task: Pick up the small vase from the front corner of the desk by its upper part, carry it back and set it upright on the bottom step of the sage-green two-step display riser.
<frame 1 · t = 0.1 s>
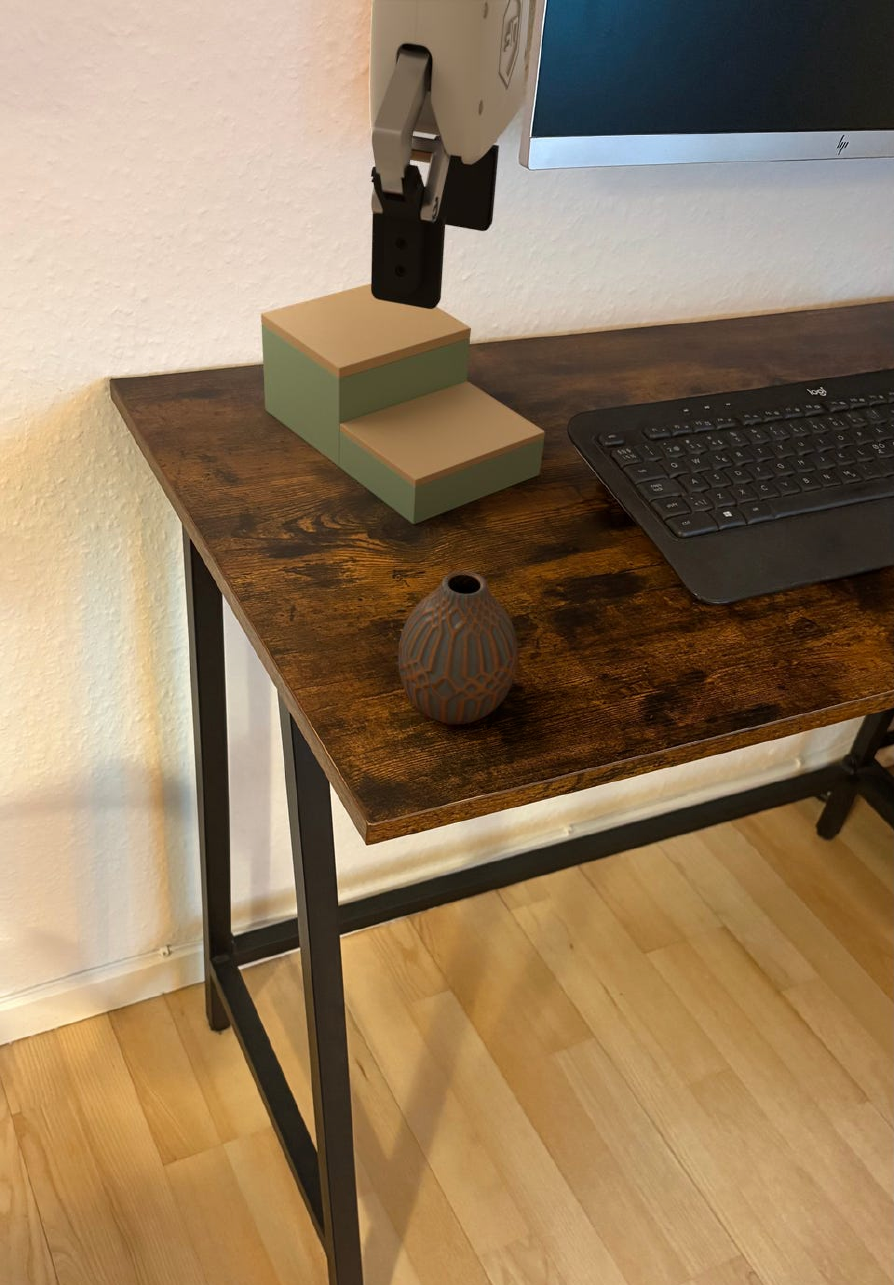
hand: (434, 261, 60), 24 cm above the table, tool pointing down, fingers open, 9 cm apart
vase: (453, 704, 74), on the table
two-step display riser: (399, 442, 94), on the table
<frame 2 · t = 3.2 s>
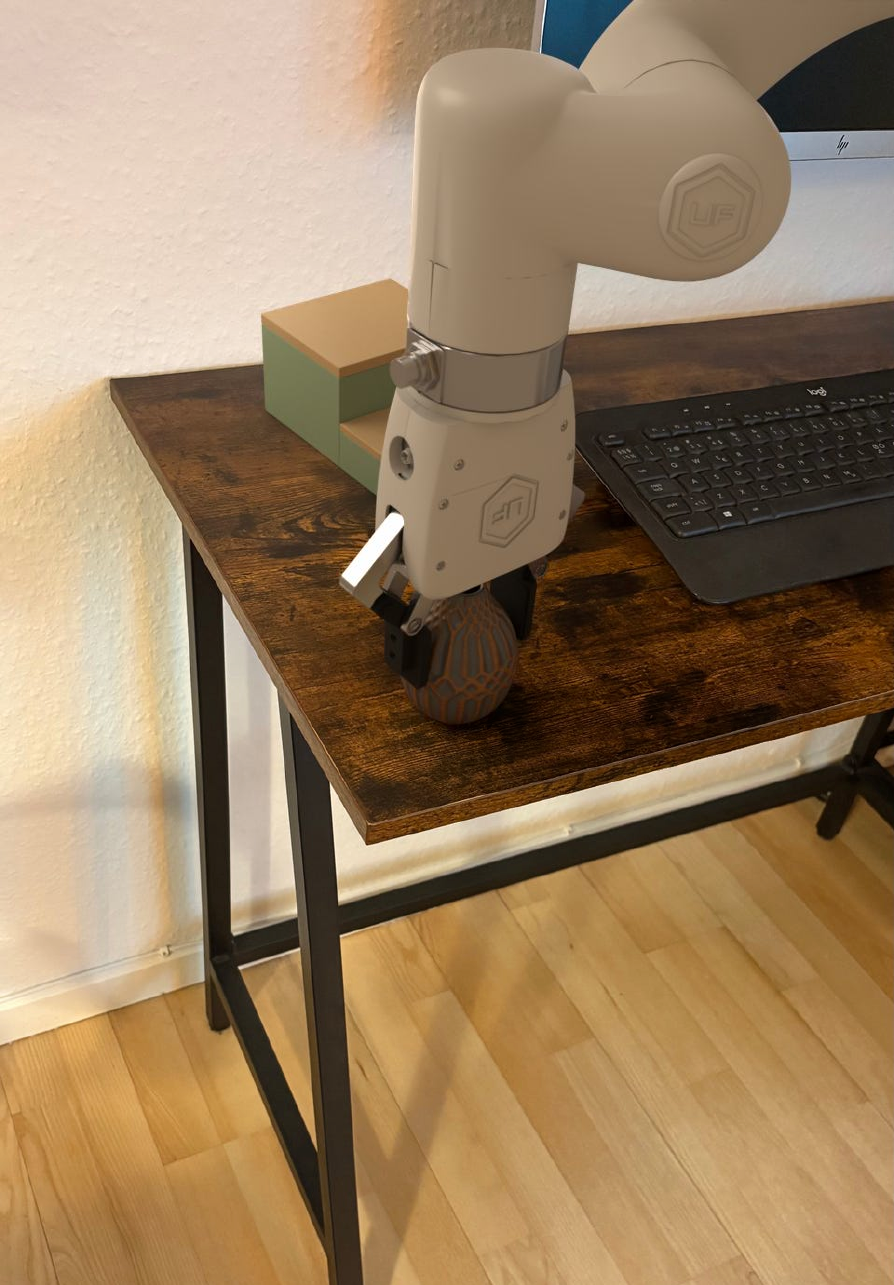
hand: (458, 648, 71), 4 cm above the table, tool pointing down, fingers closed on vase, 6 cm apart
vase: (453, 704, 74), on the table, touching gripper
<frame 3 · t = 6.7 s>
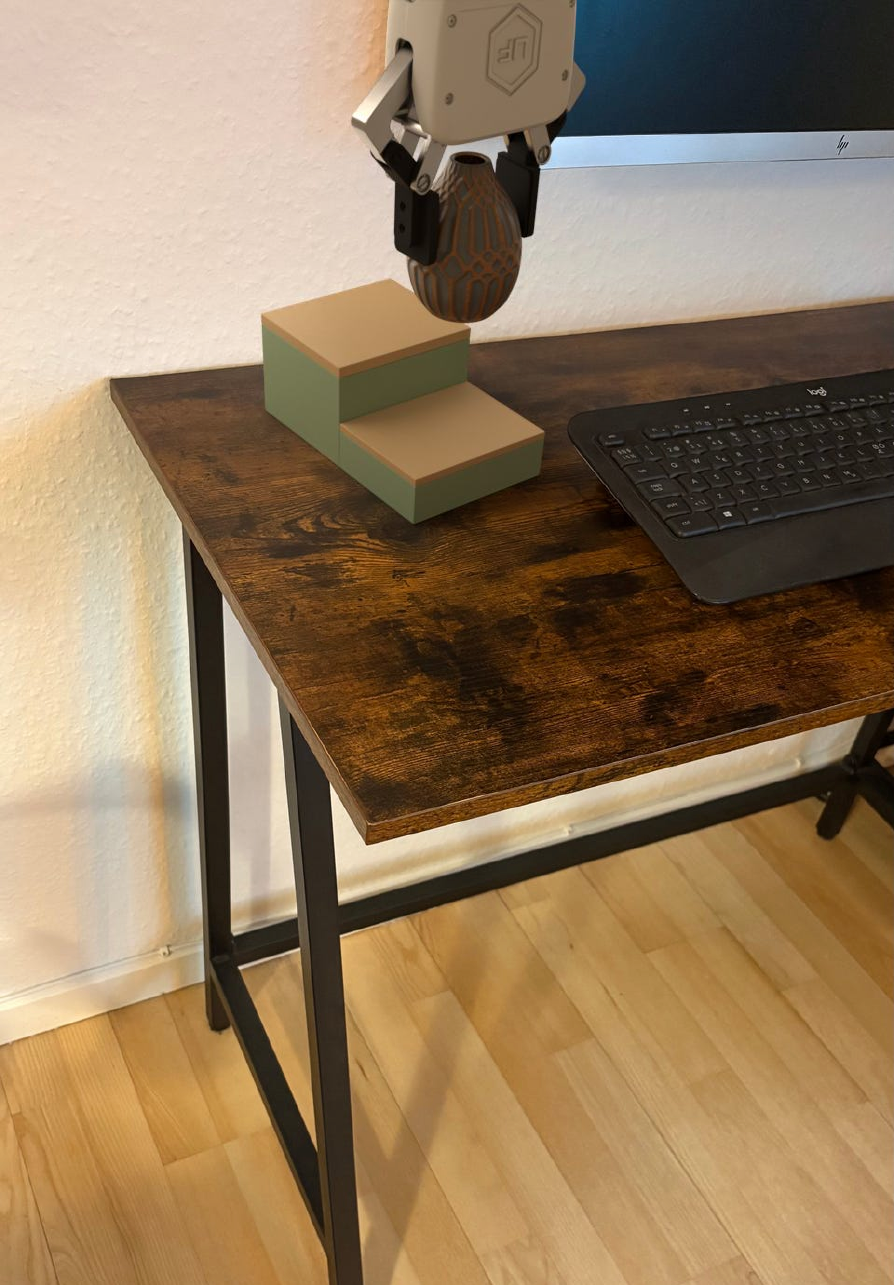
hand: (464, 241, 73), 20 cm above the table, tool pointing down, fingers closed on vase, 6 cm apart
vase: (459, 312, 76), point 15 cm above the table, touching gripper
when the fingers open (8 cm above the table, at t = 10.5 s): vase stays where it is, resting on two-step display riser.
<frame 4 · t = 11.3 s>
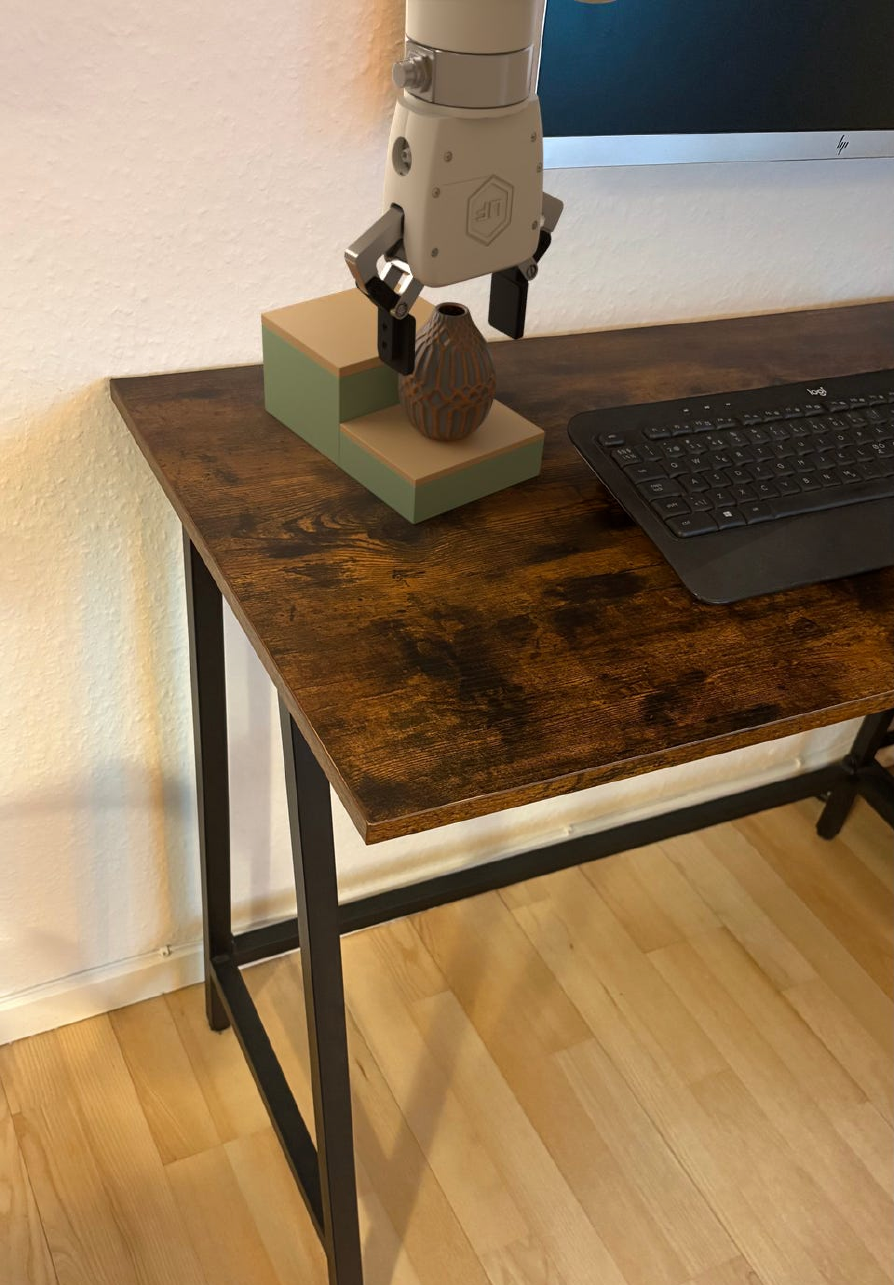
hand: (452, 349, 85), 10 cm above the table, tool pointing down, fingers open, 9 cm apart
vase: (443, 430, 89), point 3 cm above the table, touching two-step display riser
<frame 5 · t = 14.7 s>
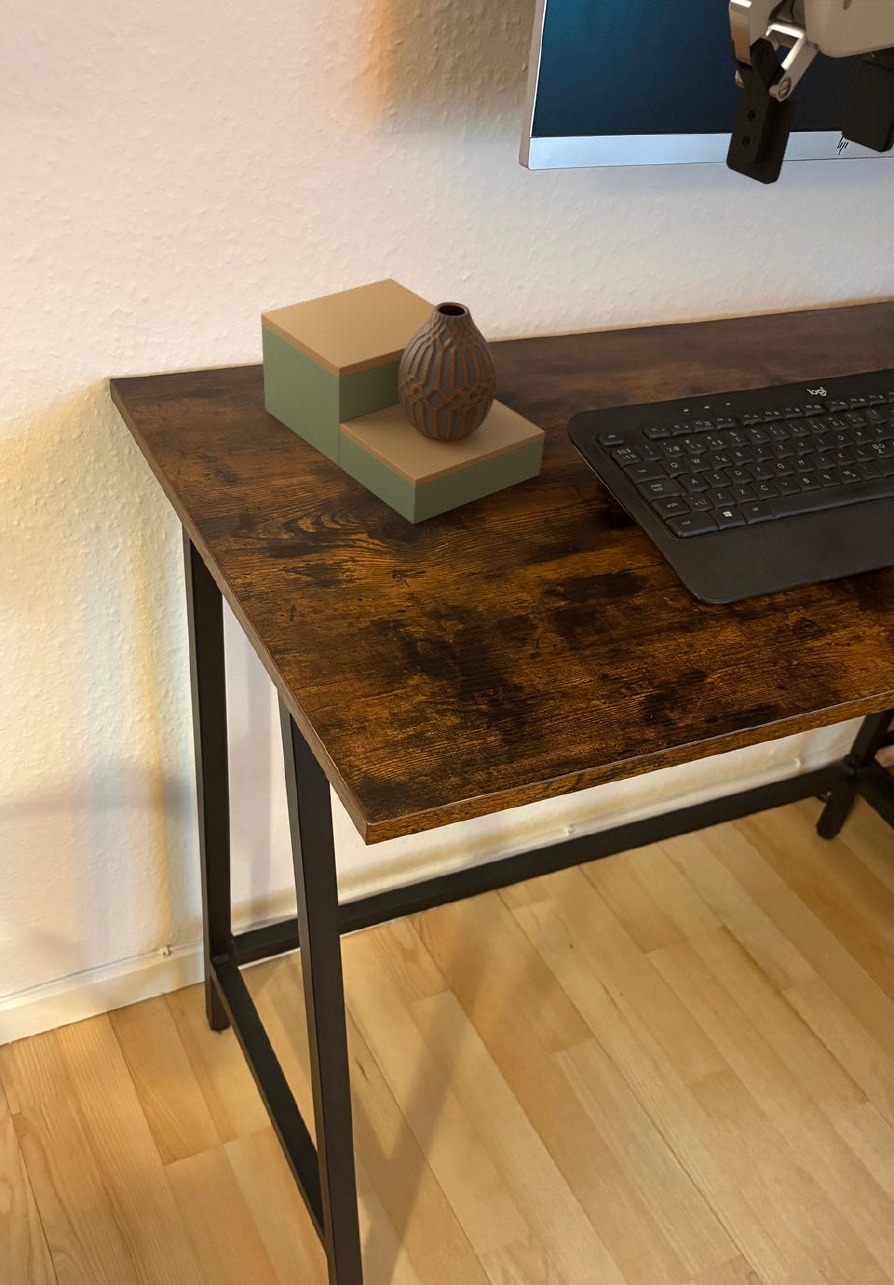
hand: (809, 159, 67), 26 cm above the table, tool pointing down, fingers open, 9 cm apart
nothing on the table moved.
at the end: vase 0.1 cm from the target spot on the two-step display riser, point 3.4 cm above the two-step display riser's base; vase tilted 0°; the gripper is holding nothing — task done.
